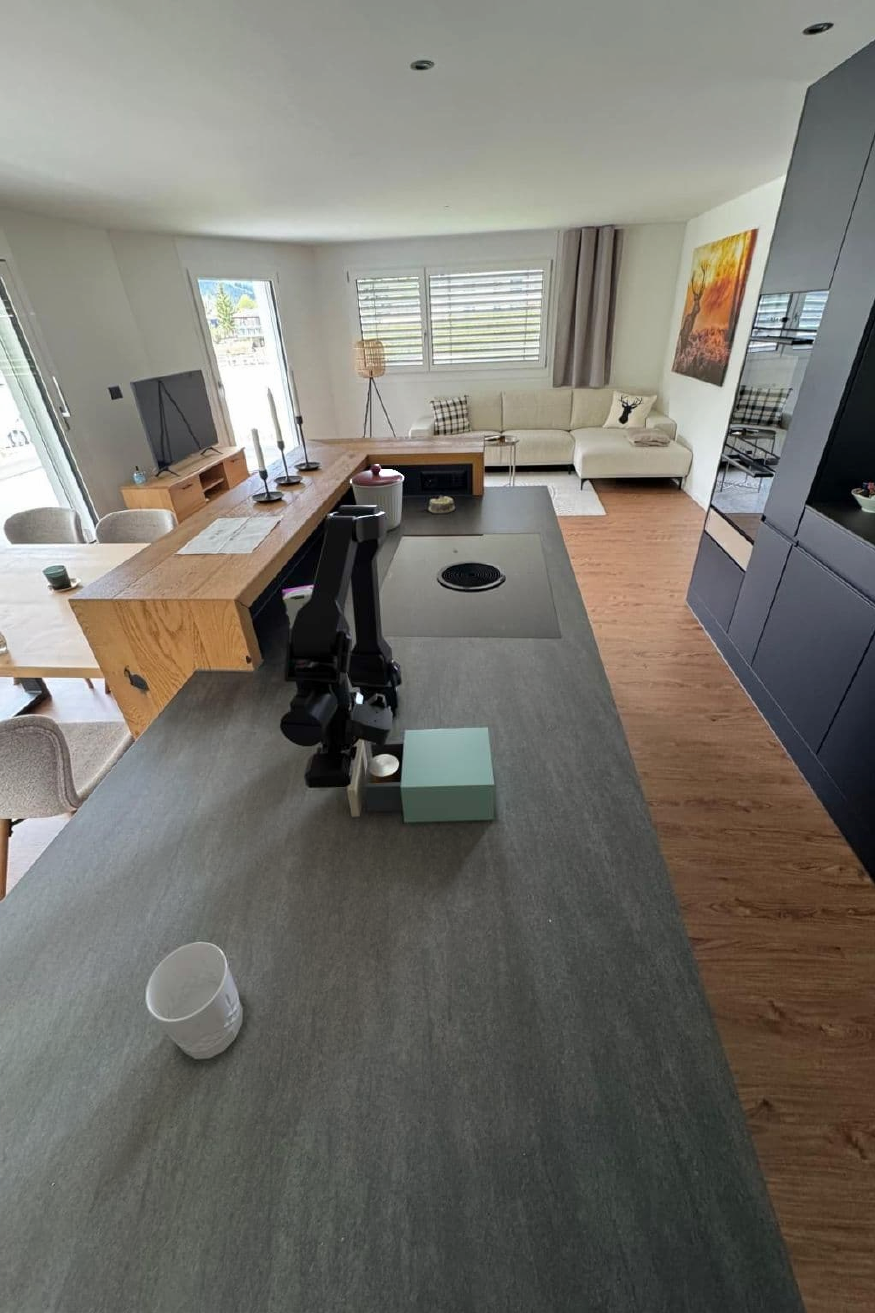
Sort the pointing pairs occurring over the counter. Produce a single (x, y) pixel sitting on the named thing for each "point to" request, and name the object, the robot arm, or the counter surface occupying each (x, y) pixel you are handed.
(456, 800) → the pale green block
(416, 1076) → the counter surface
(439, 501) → the cake
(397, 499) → the canister
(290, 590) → the candy bar box
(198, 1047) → the white cup
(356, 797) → the drawer
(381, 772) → the coffee pod
